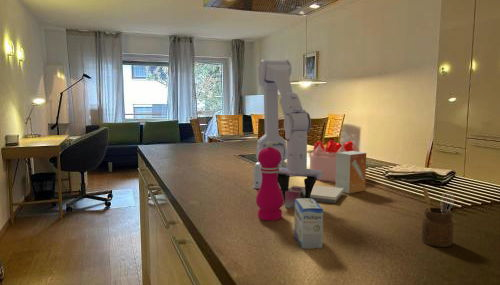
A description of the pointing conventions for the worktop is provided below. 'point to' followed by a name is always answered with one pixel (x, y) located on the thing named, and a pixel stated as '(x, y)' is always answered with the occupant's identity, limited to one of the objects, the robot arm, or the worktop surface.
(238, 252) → the worktop surface
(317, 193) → the plate
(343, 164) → the small box
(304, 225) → the medicine box
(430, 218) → the utensil holder
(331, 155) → the cake
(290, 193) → the housing
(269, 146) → the pepper mill
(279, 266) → the worktop surface
